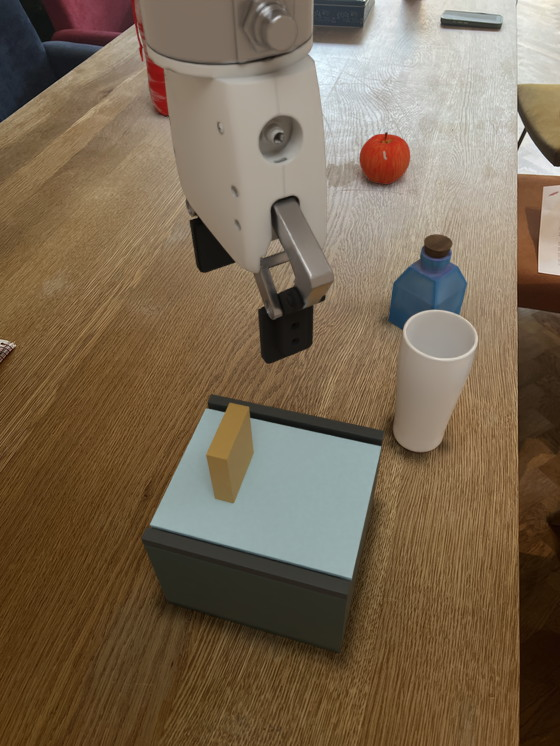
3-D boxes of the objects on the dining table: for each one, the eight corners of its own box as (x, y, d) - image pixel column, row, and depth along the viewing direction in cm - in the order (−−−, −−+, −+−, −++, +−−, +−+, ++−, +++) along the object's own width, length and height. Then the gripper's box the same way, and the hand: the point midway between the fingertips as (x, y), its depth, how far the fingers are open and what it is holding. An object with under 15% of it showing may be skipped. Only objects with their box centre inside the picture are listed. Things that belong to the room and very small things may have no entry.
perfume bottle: (426, 345, 75) (443, 266, 66) (388, 320, 78) (398, 242, 69) (457, 321, 77) (477, 242, 69) (419, 298, 81) (433, 220, 72)
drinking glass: (379, 451, 64) (395, 351, 53) (392, 404, 69) (409, 302, 58) (444, 467, 63) (474, 368, 52) (453, 418, 67) (483, 316, 56)
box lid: (380, 449, 51) (388, 399, 46) (351, 580, 43) (357, 537, 39) (206, 410, 54) (197, 361, 50) (150, 527, 47) (133, 481, 42)
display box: (372, 504, 60) (384, 430, 51) (340, 653, 51) (347, 594, 42) (223, 468, 63) (210, 393, 55) (167, 603, 54) (140, 538, 45)
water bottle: (214, 102, 123) (198, -45, 104) (205, 120, 117) (187, -32, 99) (155, 100, 124) (130, -46, 105) (144, 118, 119) (115, -32, 100)
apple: (405, 193, 98) (412, 145, 92) (355, 189, 99) (358, 142, 93) (408, 168, 103) (415, 121, 97) (360, 164, 104) (364, 118, 99)
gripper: (417, 57, 23) (375, 371, 35) (223, -49, 33) (245, 222, 46) (233, 104, 20) (259, 421, 33) (88, -26, 31) (150, 253, 43)
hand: (251, 305), depth 39 cm, fingers open, 9 cm apart
